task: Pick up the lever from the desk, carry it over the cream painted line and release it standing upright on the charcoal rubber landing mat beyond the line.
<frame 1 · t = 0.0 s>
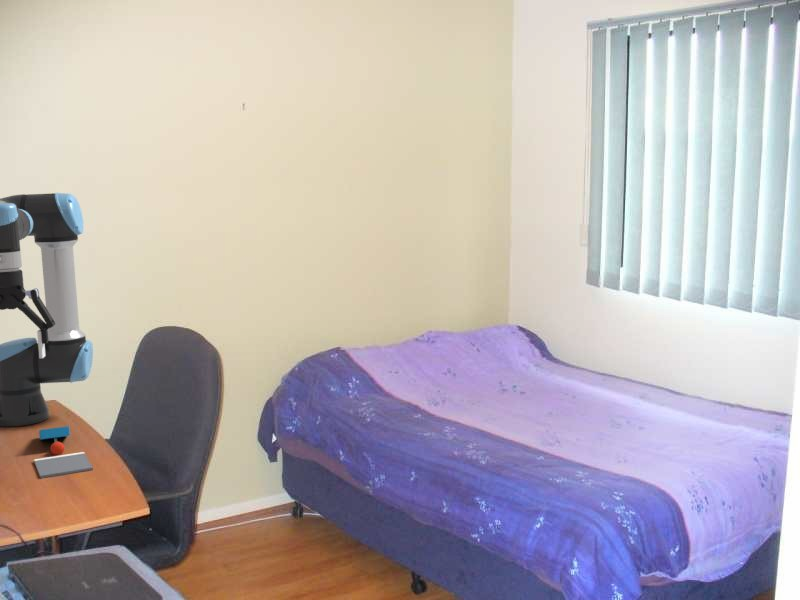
hand: (12, 358, 233), 28 cm above the table, fingers open, 13 cm apart
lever: (55, 447, 259), on the table
landing mat: (63, 465, 241), on the table
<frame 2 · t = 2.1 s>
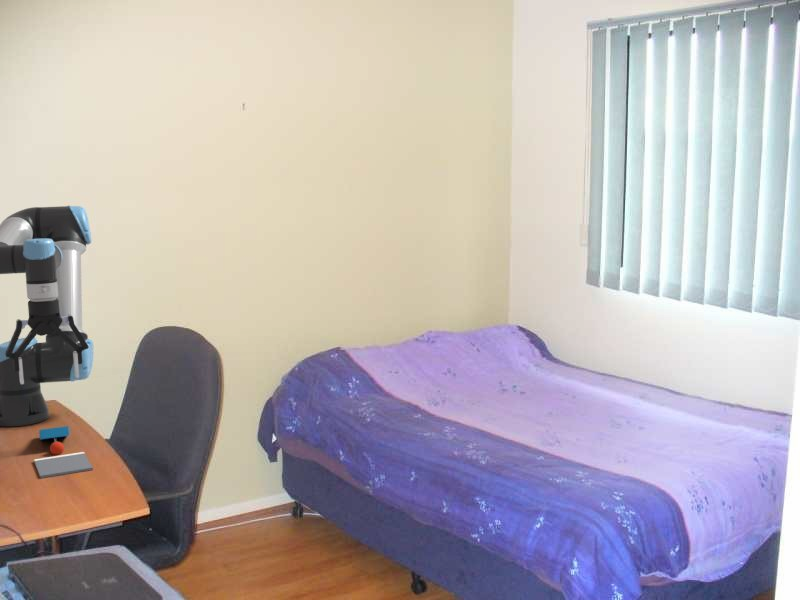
hand: (49, 380, 255), 18 cm above the table, fingers open, 13 cm apart
nothing on the table moved.
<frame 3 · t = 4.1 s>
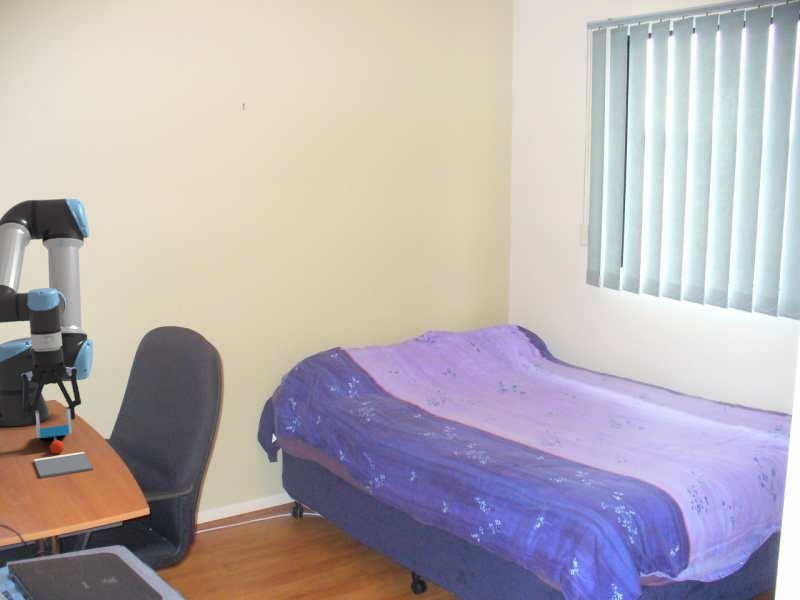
hand: (54, 434, 258), 3 cm above the table, fingers closed on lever, 7 cm apart
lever: (55, 446, 259), on the table, touching gripper
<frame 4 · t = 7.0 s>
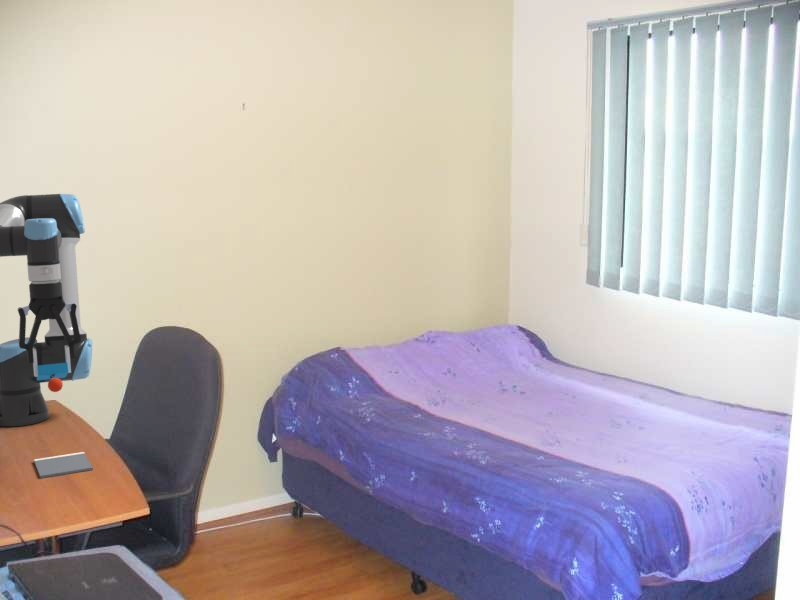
hand: (52, 373, 244), 22 cm above the table, fingers closed on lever, 7 cm apart
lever: (53, 386, 244), point 19 cm above the table, touching gripper
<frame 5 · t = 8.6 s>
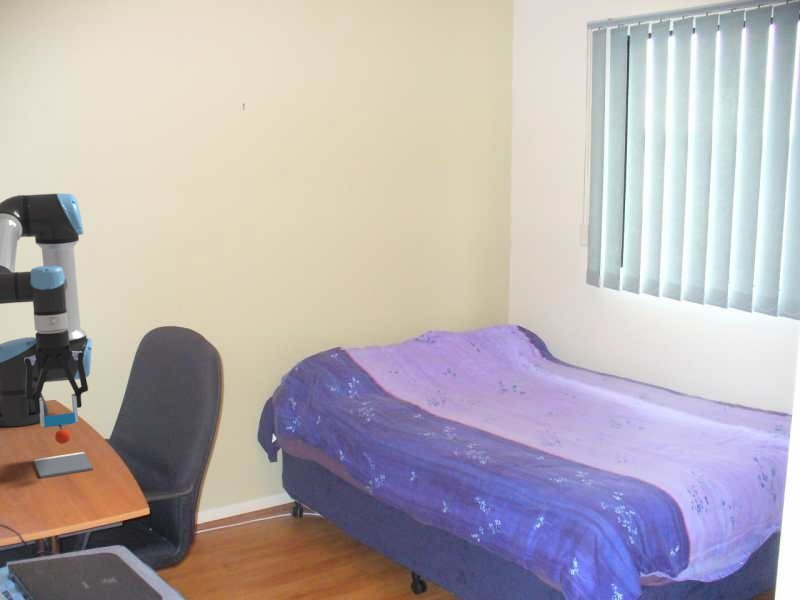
hand: (59, 422, 240), 11 cm above the table, fingers closed on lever, 7 cm apart
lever: (60, 435, 241), point 8 cm above the table, touching gripper
when the fingers open (6 cm above the table, at t = 9.9 s): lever drops 3 cm, resting on landing mat.
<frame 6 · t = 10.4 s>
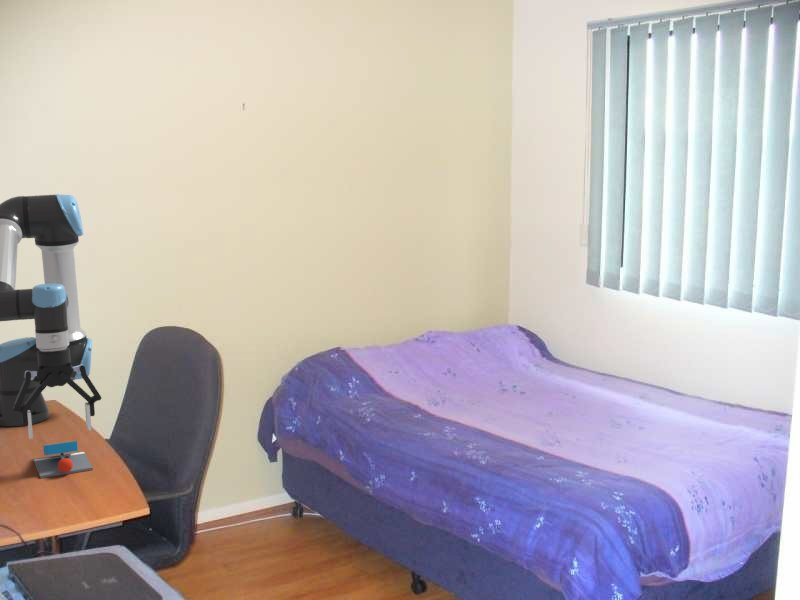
hand: (60, 433, 240), 8 cm above the table, fingers open, 13 cm apart
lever: (62, 463, 242), resting on landing mat
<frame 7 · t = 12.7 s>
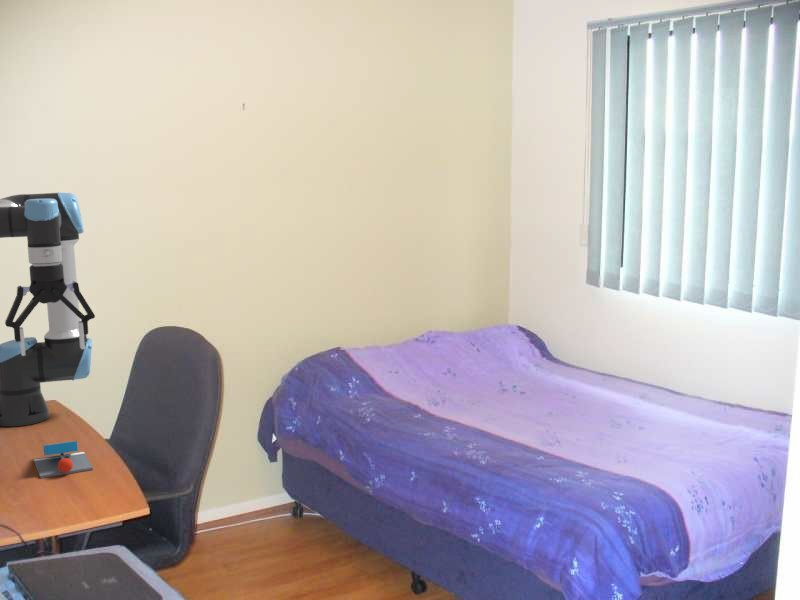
hand: (53, 351, 237), 29 cm above the table, fingers open, 13 cm apart
nothing on the table moved.
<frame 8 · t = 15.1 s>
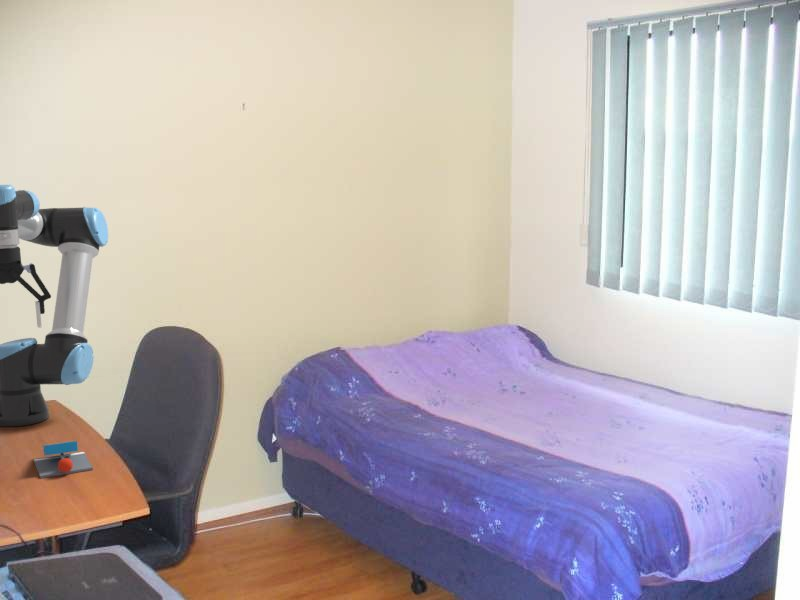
hand: (11, 329, 251), 32 cm above the table, fingers open, 13 cm apart
nothing on the table moved.
at the end: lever inside the target area (1.4 cm from its centre), point 0.5 cm above the table; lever touching landing mat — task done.
